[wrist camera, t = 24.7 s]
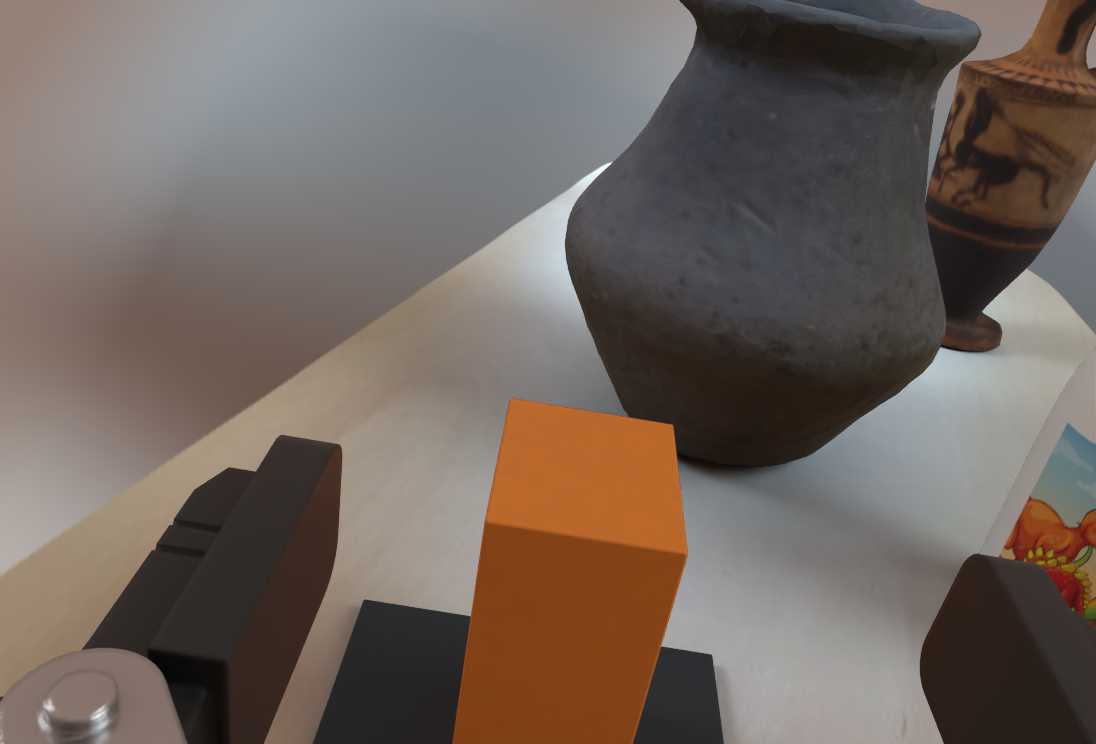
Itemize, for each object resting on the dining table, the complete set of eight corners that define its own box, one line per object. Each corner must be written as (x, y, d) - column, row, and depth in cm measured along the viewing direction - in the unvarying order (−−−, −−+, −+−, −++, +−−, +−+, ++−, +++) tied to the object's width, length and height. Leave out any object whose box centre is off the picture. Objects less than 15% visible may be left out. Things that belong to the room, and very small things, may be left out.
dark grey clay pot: (480, 447, 46) (553, -84, 34) (600, 305, 65) (675, -72, 53) (879, 583, 41) (1125, 20, 29) (887, 388, 60) (1039, -7, 48)
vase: (859, 324, 69) (1012, -109, 55) (890, 288, 77) (1030, -96, 63) (1005, 375, 64) (1213, -81, 50) (1022, 331, 73) (1204, -71, 59)
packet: (439, 829, 27) (484, 520, 21) (467, 677, 32) (510, 396, 27) (601, 854, 27) (689, 553, 21) (603, 698, 32) (674, 423, 27)
